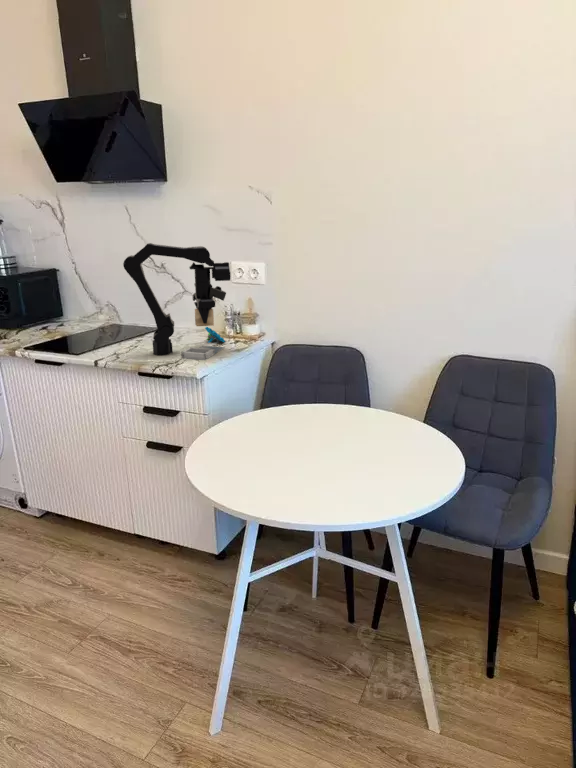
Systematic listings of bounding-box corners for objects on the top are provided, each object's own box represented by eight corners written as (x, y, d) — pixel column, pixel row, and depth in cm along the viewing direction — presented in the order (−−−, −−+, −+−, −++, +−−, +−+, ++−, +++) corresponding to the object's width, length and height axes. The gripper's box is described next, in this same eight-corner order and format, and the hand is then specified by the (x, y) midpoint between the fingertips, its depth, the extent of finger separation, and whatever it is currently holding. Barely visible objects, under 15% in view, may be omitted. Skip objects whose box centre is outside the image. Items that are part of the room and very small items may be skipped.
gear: (229, 341, 227) (211, 325, 222) (220, 352, 226) (202, 337, 221) (220, 339, 237) (203, 324, 232) (212, 350, 236) (194, 335, 231)
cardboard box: (196, 326, 208) (196, 310, 206) (195, 324, 212) (194, 308, 210) (213, 325, 210) (213, 309, 208) (212, 323, 214) (211, 307, 212)
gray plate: (205, 362, 202) (204, 354, 201) (180, 360, 204) (179, 352, 204) (225, 349, 220) (225, 342, 219) (202, 348, 223) (202, 340, 222)
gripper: (228, 283, 199) (229, 326, 204) (219, 277, 216) (221, 316, 221) (197, 284, 196) (199, 327, 201) (191, 278, 213) (193, 318, 218)
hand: (204, 322), depth 210 cm, fingers closed on cardboard box, 4 cm apart
